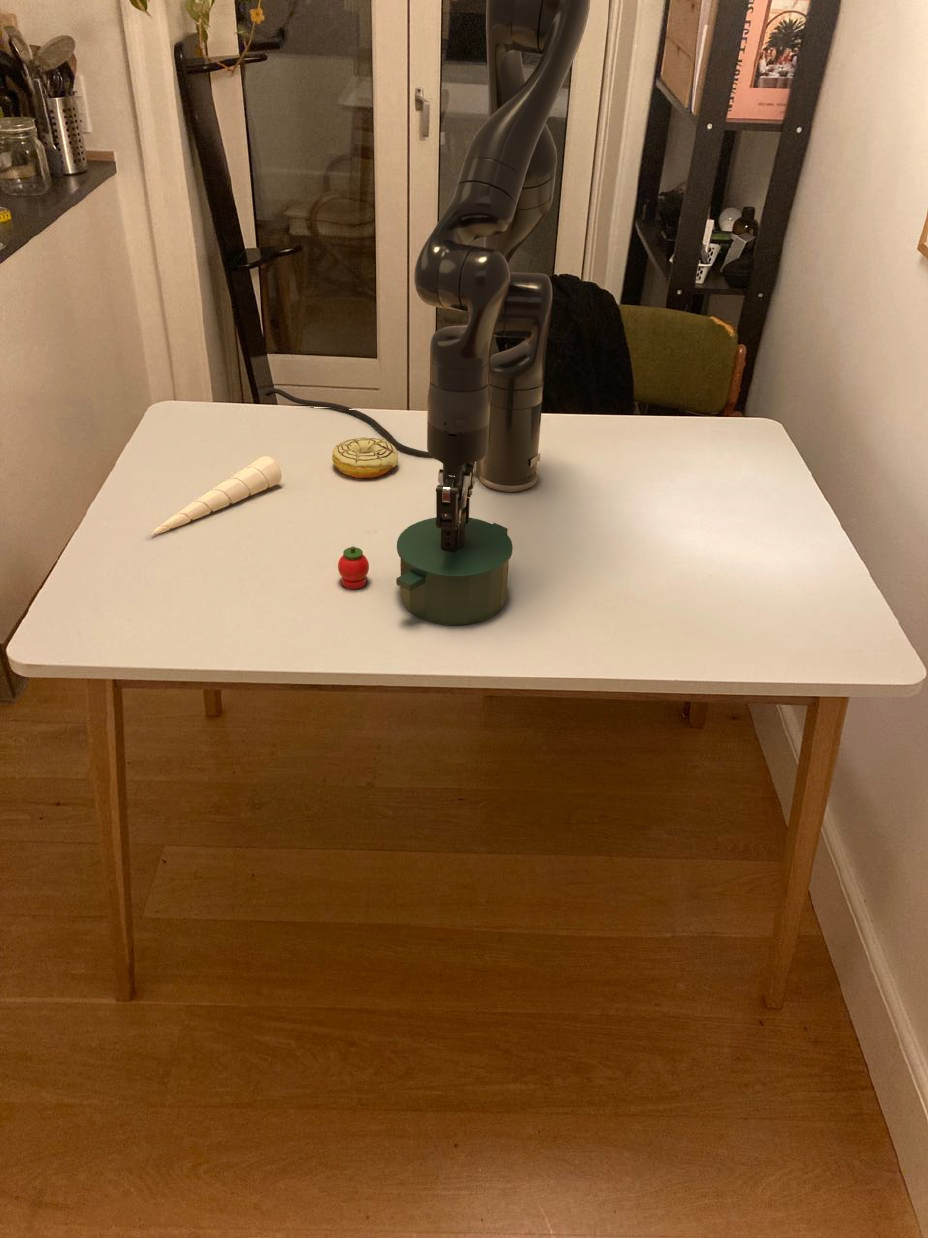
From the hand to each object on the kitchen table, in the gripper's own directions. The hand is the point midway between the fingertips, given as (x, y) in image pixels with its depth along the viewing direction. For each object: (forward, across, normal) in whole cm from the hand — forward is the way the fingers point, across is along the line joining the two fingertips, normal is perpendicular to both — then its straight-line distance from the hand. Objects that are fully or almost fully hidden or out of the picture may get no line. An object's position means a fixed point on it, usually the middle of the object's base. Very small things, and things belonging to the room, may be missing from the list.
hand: (455, 536), depth 128 cm
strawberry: (+9, 0, -14) cm, 17 cm away
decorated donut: (+9, -34, -22) cm, 42 cm away
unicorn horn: (+9, -16, -39) cm, 44 cm away
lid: (+2, 0, 0) cm, 2 cm away
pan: (+9, 0, 0) cm, 9 cm away
